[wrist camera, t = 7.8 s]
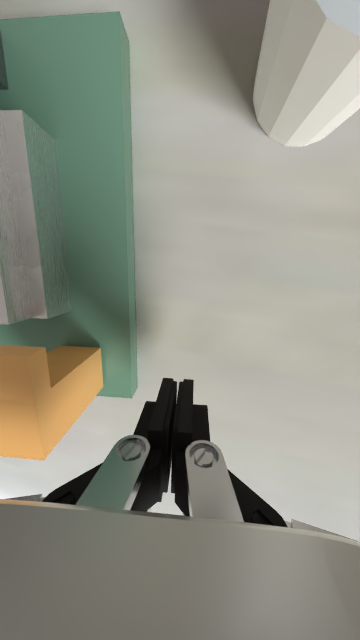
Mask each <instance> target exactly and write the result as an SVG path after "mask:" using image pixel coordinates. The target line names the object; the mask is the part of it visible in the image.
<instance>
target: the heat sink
mask: <svg viewBox="0 0 360 640" xmlns="http://www.w3.org/2000/svg"><path fill="white" fill-rule="evenodd" d="M7 89H9V88H8V80H7V73H6V65H5V58H4V51H3V43H2V36H1V31H0V90H7ZM69 311H72V301H71V291H70V280H69V270H68V259H67V249H66V238H65V228H64V217H63V207H62V196H61V186H60V175H59V165H58V154H57V144H56V140H55V139H54V138H53V137H51V136H50V135H49V134H48V133H47V132H46V131H45V130H44V129H43V128H41V127H40V126H39V125H38V124H37V123H36V122H35V121H34V120H32V119H31V118H30V117H29V116H28V115H27V114H26V113H25V112H24V111H22V110H0V324H7V325H9V324H13V323H16V322H20V321H23V320H26V319H30V318H41V319H48V318H51V317H54V316H57V315H60V314H63V313H66V312H69Z"/></svg>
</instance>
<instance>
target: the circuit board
mask: <svg viewBox="0 0 360 640" xmlns="http://www.w3.org/2000/svg"><path fill="white" fill-rule="evenodd" d="M0 31H1V36H2V43H3V51H4V58H5V65H6V73H7V80H8V88H9V89H7V90H0V110H22V111H24V112H25V113H26V114H27V115H28V116H29V117H30V118H31V119H32V120H34V121H35V122H36V123H37V124H38V125H39V126H40V127H41V128H43V129H44V130H45V131H46V132H47V133H48V134H49V135H50V136H51V137H53V138H54V139H55V140H56V144H57V154H58V165H59V175H60V186H61V196H62V207H63V217H64V228H65V238H66V249H67V259H68V270H69V280H70V291H71V301H72V311H69V312H66V313H63V314H60V315H57V316H54V317H51V318H48V319H41V318H30V319H26V320H23V321H20V322H16V323H13V324H9V325H7V324H0V345H11V346H28V347H46V353H47V352H49V351H51V350H53V349H54V348H56V347H58V346H77V347H95V348H101V358H102V373H103V388H102V389H101V390H100V391H99V393H98V394H97V395H96V396H108V397H121V398H132V397H133V395H134V393H135V391H136V389H137V347H136V306H135V266H134V225H133V184H132V143H131V102H130V61H129V40H128V37H127V34H126V31H125V27H124V24H123V21H122V18H121V14H120V12H105V13H90V14H75V15H61V16H46V17H31V18H16V19H2V20H0Z"/></svg>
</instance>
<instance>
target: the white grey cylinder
mask: <svg viewBox="0 0 360 640" xmlns="http://www.w3.org/2000/svg"><path fill="white" fill-rule="evenodd" d="M253 104H254V109H255V114H256V118H257V122H258V123H259V124H260V126H261V127H262V129H263V130H264V132H265V133H266V134H267V136H268V137H269V138H271V139H273V140H275V141H276V142H278V143H280V144H282V145H284V146H299V147H304V146H306V145H309V144H311V143H314V142H316V141H319V140H321V139H323V138H325V137H326V136H327V135H328V134H329V133H331V132H332V131H333V130H334V129H335V128H337V127H338V126H339V125H340V124H341V123H343V122H344V121H345V120H346V119H347V118H349V117H350V116H351V115H352V114H353V113H355V112H356V111H357V110H358V109H359V108H360V0H270V3H269V9H268V14H267V19H266V24H265V30H264V35H263V40H262V45H261V51H260V56H259V61H258V66H257V72H256V77H255V85H254V93H253Z"/></svg>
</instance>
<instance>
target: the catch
mask: <svg viewBox="0 0 360 640" xmlns="http://www.w3.org/2000/svg"><path fill="white" fill-rule="evenodd" d="M102 388H103V373H102V358H101V348H95V347H77V346H58V347H56V348H54V349H53V350H51V351H49V352H47V353H46V347H28V346H11V345H0V456H4V457H14V458H24V459H34V460H45V458H46V457H47V456H48V455H49V453H50V452H51V451H52V450H53V448H54V447H55V446H56V445H57V443H58V442H59V441H60V440H61V439H62V437H63V436H64V435H65V434H66V432H67V431H68V430H69V429H70V427H71V426H72V425H73V424H74V422H75V421H76V420H77V419H78V417H79V416H80V415H81V414H82V412H83V411H84V410H85V409H86V408H87V406H88V405H89V404H90V403H91V401H92V400H93V399H94V398H95V396H96V395H97V394H98V393H99V391H100V390H101V389H102Z"/></svg>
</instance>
